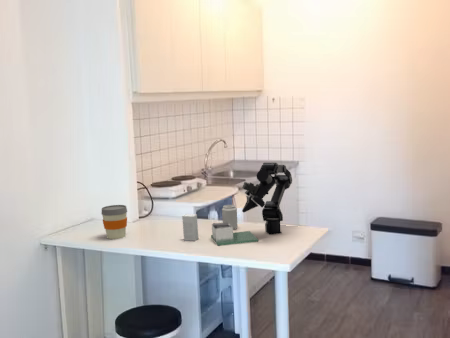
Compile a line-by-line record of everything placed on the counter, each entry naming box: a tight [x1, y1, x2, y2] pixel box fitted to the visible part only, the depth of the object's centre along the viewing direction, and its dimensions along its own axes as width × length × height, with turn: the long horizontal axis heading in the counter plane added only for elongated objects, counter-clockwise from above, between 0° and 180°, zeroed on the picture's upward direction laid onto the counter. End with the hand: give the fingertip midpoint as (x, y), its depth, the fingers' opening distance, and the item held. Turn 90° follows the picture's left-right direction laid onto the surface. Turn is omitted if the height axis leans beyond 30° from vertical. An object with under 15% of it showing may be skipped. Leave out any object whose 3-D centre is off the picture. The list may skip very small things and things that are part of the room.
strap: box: [212, 222, 228, 226], centre depth 242 cm, size 7×4×1 cm, turn 102°
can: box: [221, 204, 239, 231], centre depth 264 cm, size 8×8×12 cm
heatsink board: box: [211, 223, 259, 246], centre depth 244 cm, size 19×16×8 cm
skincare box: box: [181, 213, 199, 242], centre depth 247 cm, size 6×4×12 cm
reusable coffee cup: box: [101, 204, 128, 240], centre depth 259 cm, size 13×13×15 cm
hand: (242, 211), depth 244 cm, fingers closed
